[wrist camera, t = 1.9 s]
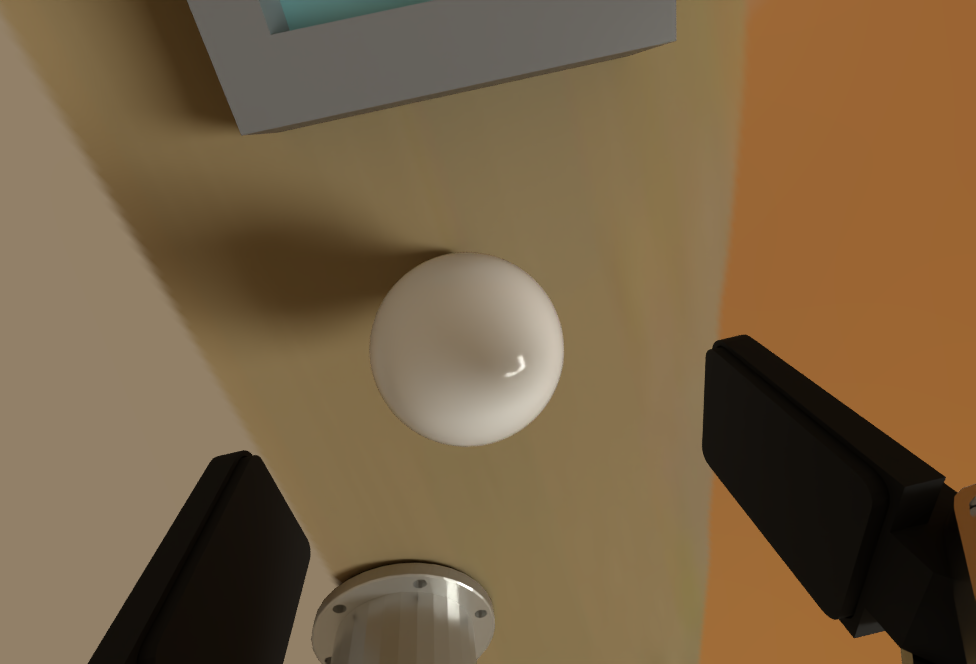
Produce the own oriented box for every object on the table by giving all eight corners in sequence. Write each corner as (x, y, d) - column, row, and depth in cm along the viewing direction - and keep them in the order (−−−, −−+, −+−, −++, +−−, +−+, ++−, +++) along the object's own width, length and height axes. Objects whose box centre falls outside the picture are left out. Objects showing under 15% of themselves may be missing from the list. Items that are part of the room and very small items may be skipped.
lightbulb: (360, 259, 21) (303, 380, 11) (473, 182, 20) (518, 240, 10) (437, 356, 24) (446, 522, 14) (540, 291, 23) (627, 420, 13)
